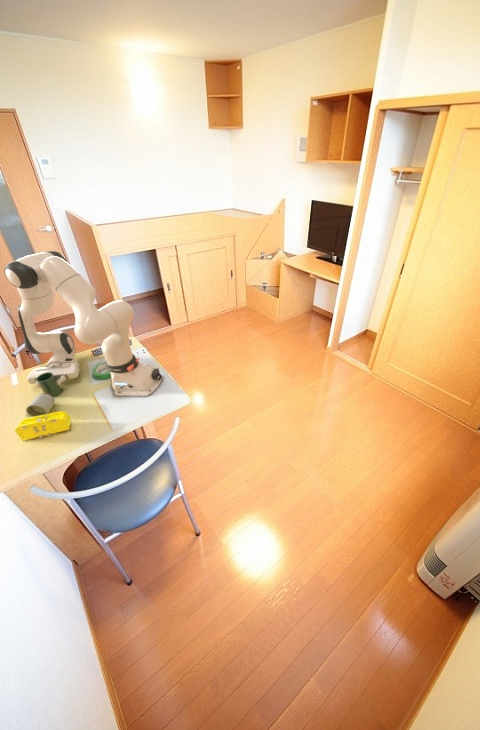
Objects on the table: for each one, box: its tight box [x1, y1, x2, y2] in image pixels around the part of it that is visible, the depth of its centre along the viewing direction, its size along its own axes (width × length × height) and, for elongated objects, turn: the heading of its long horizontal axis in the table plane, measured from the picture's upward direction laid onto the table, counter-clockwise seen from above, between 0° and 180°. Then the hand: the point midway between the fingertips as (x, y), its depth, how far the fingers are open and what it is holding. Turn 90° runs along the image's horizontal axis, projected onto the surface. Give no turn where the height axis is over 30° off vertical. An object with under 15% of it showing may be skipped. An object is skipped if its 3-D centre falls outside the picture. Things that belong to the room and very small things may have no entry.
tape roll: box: [92, 361, 111, 380], centre depth 145 cm, size 11×11×3 cm
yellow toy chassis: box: [14, 410, 72, 441], centre depth 114 cm, size 16×6×8 cm, turn 110°
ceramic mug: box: [25, 392, 56, 417], centre depth 122 cm, size 11×8×8 cm
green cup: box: [36, 372, 62, 398], centre depth 131 cm, size 6×6×10 cm
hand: (48, 385), depth 130 cm, fingers closed on green cup, 6 cm apart
